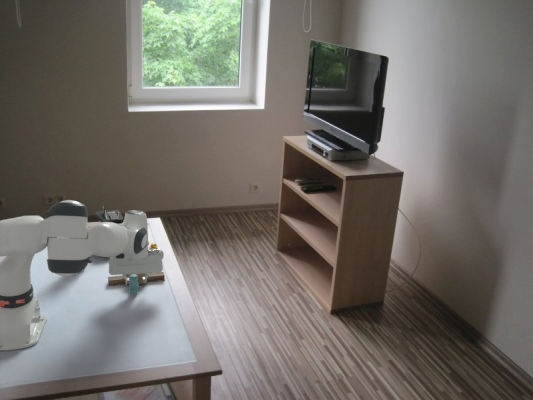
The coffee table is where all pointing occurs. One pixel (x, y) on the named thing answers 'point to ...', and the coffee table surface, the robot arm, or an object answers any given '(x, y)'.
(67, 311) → the coffee table surface
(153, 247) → the figurine set
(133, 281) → the teal crank handle
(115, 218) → the black-topped pedestal
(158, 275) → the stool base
